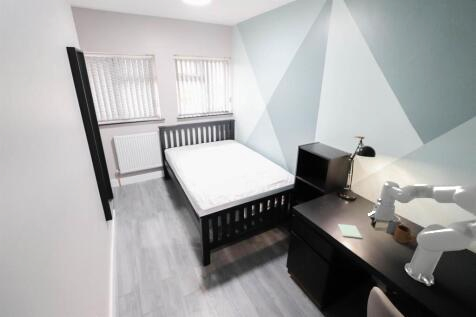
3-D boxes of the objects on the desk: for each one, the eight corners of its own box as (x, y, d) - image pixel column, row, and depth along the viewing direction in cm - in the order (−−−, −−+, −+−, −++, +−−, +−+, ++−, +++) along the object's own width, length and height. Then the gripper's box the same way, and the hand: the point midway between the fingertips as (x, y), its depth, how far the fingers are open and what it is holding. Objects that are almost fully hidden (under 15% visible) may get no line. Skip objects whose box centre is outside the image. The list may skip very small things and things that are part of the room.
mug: (416, 247, 138) (421, 235, 135) (408, 250, 136) (413, 238, 132) (398, 234, 149) (402, 223, 145) (390, 237, 146) (394, 225, 143)
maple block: (385, 231, 131) (388, 223, 129) (375, 230, 132) (377, 222, 130) (381, 225, 137) (383, 217, 135) (370, 224, 138) (373, 216, 135)
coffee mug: (377, 228, 155) (381, 216, 151) (382, 222, 161) (385, 210, 158) (400, 238, 146) (404, 225, 142) (403, 231, 152) (408, 219, 149)
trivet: (361, 238, 145) (361, 237, 144) (342, 236, 146) (342, 235, 146) (355, 226, 156) (355, 225, 155) (337, 224, 157) (337, 223, 157)
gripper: (373, 204, 125) (366, 229, 132) (405, 207, 123) (396, 232, 130) (368, 197, 132) (361, 221, 139) (398, 199, 130) (390, 224, 137)
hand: (378, 226), depth 134 cm, fingers closed on maple block, 6 cm apart
